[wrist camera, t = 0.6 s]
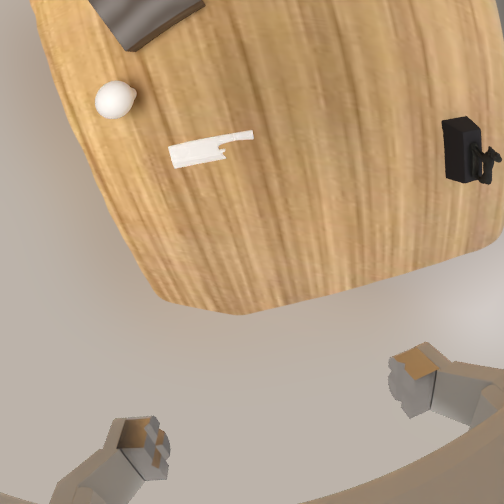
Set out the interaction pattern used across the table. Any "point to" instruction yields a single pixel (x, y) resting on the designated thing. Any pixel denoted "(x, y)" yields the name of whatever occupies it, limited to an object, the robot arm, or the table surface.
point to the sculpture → (466, 152)
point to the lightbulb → (114, 99)
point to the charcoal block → (142, 18)
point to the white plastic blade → (204, 149)
